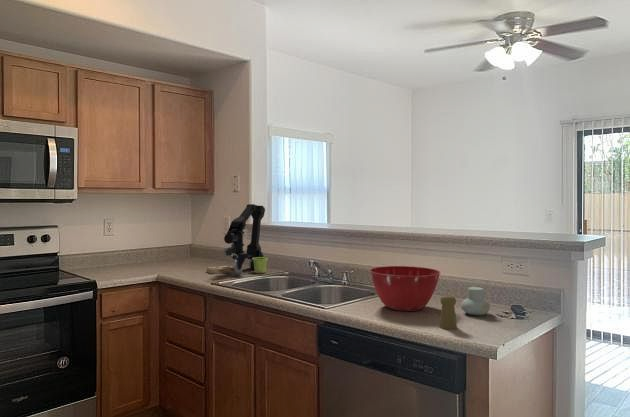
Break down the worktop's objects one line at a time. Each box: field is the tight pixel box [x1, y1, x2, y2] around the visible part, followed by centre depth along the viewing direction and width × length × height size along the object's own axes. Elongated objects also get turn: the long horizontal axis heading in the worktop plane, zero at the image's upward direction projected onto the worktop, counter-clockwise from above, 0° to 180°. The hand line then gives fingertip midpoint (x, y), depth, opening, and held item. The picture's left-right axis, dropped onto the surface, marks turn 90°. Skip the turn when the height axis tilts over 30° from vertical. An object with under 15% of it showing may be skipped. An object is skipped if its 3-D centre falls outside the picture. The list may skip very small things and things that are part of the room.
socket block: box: [206, 265, 234, 275], centre depth 289 cm, size 14×10×3 cm
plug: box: [233, 259, 243, 275], centre depth 284 cm, size 4×4×8 cm
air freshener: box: [460, 286, 491, 317], centre depth 191 cm, size 11×8×10 cm
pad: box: [228, 271, 248, 276], centre depth 284 cm, size 9×9×1 cm
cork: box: [438, 294, 458, 330], centre depth 172 cm, size 6×6×11 cm
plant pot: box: [252, 256, 269, 274], centre depth 288 cm, size 9×9×9 cm
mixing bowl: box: [369, 265, 441, 312], centre depth 201 cm, size 28×28×15 cm
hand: (238, 269), depth 284 cm, fingers open, 4 cm apart
